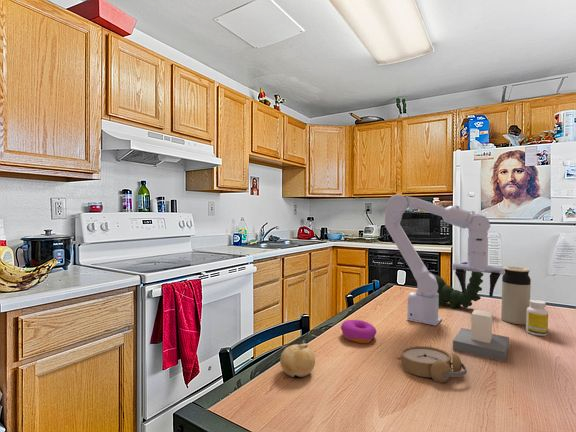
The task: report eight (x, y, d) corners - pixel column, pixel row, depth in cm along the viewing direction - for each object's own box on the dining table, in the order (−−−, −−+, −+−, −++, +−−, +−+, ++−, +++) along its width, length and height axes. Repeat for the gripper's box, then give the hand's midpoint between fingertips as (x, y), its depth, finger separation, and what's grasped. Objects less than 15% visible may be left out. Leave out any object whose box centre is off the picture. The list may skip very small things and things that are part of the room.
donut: (368, 348, 94) (368, 331, 94) (334, 340, 99) (334, 324, 99) (380, 336, 103) (380, 320, 102) (348, 329, 108) (348, 314, 108)
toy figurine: (481, 313, 130) (418, 294, 148) (488, 264, 128) (423, 251, 146) (472, 318, 123) (407, 298, 142) (478, 267, 121) (412, 253, 140)
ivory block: (470, 339, 94) (471, 313, 94) (473, 334, 97) (474, 309, 97) (490, 343, 91) (490, 317, 91) (491, 338, 95) (492, 312, 94)
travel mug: (503, 323, 114) (505, 269, 114) (499, 316, 122) (500, 265, 121) (532, 326, 111) (534, 271, 111) (525, 319, 119) (527, 267, 118)
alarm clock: (416, 342, 91) (474, 352, 79) (419, 362, 90) (478, 374, 78) (390, 353, 84) (449, 366, 72) (392, 374, 83) (453, 390, 71)
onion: (303, 385, 74) (304, 353, 74) (273, 375, 78) (273, 345, 78) (320, 370, 81) (320, 340, 81) (291, 362, 85) (291, 333, 85)
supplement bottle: (551, 337, 102) (552, 304, 102) (530, 335, 103) (531, 303, 103) (541, 330, 108) (542, 299, 107) (522, 329, 109) (523, 298, 108)
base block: (452, 349, 93) (452, 340, 93) (461, 336, 103) (461, 327, 103) (505, 361, 86) (505, 352, 86) (508, 346, 95) (509, 337, 95)
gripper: (450, 251, 111) (450, 293, 112) (503, 255, 103) (502, 300, 103) (454, 249, 117) (454, 289, 117) (505, 252, 108) (504, 295, 109)
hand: (477, 294), depth 111 cm, fingers open, 7 cm apart
